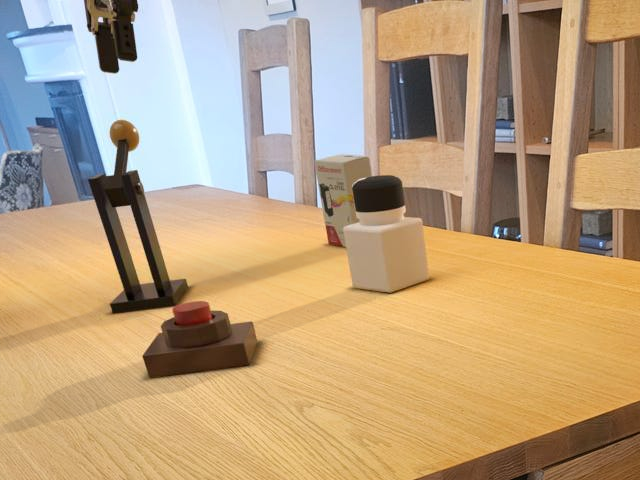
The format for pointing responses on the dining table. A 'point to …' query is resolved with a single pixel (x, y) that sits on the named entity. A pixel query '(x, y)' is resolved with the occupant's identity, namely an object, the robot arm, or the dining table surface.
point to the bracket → (134, 292)
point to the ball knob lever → (120, 161)
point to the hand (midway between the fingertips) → (118, 66)
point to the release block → (200, 346)
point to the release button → (192, 313)
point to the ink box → (340, 191)
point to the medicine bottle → (384, 238)
